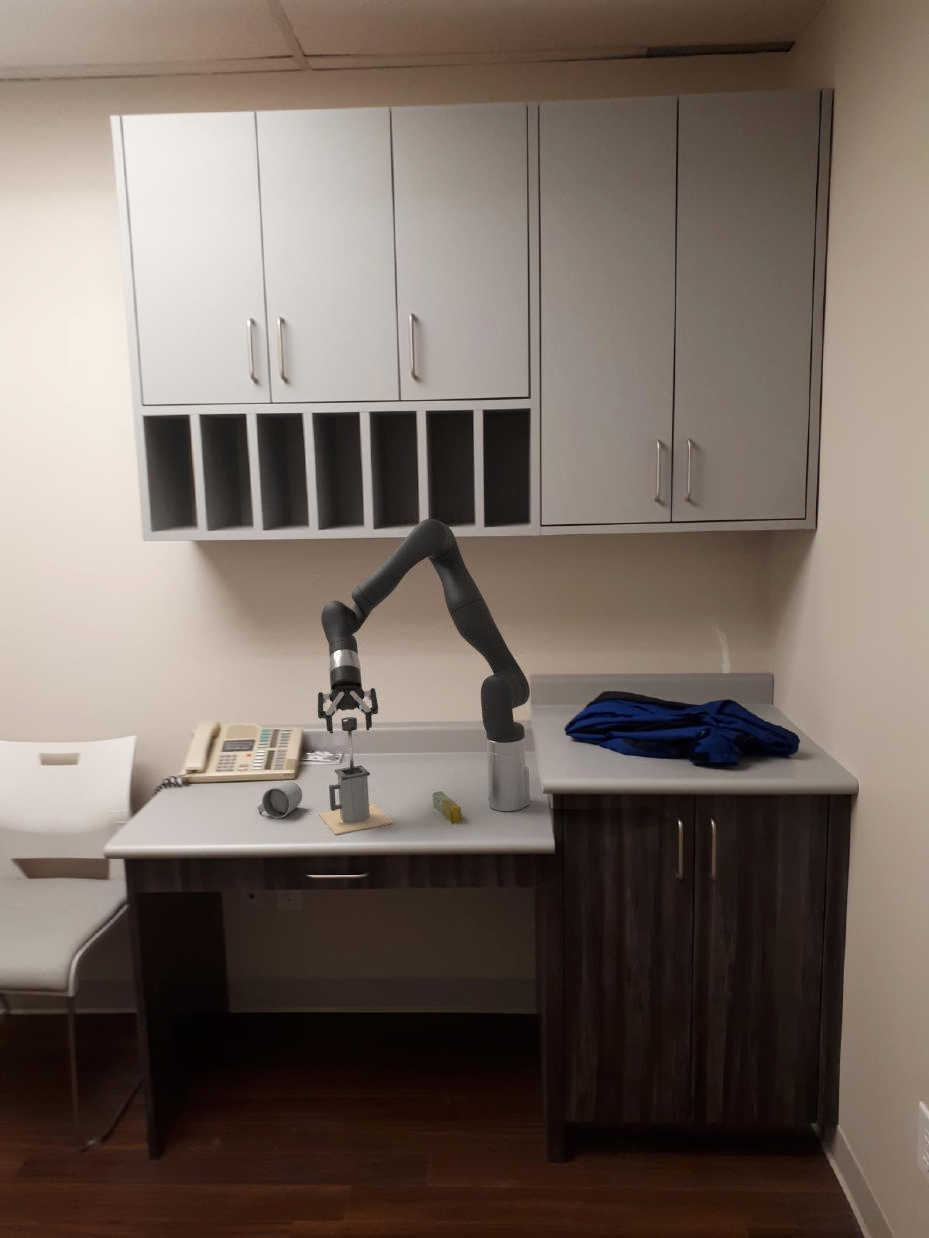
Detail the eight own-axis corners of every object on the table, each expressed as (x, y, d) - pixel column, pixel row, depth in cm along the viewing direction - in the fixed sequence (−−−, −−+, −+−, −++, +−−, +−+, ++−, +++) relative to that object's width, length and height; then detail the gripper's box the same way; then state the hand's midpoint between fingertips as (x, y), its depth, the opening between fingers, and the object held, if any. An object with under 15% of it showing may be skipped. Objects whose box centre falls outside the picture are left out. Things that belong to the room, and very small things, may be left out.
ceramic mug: (305, 807, 226) (303, 777, 224) (291, 819, 218) (288, 788, 217) (267, 805, 228) (264, 776, 227) (251, 817, 220) (248, 787, 219)
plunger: (357, 771, 217) (354, 716, 215) (362, 776, 213) (358, 719, 211) (342, 774, 215) (339, 718, 213) (347, 778, 212) (343, 722, 210)
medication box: (432, 808, 222) (431, 792, 221) (443, 805, 223) (441, 790, 223) (452, 824, 211) (450, 808, 211) (462, 822, 212) (461, 806, 212)
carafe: (373, 804, 225) (370, 758, 223) (392, 823, 213) (389, 774, 211) (318, 815, 220) (315, 767, 218) (335, 835, 207) (331, 785, 205)
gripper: (374, 678, 225) (379, 735, 216) (316, 682, 223) (319, 740, 213) (374, 661, 219) (380, 719, 210) (315, 666, 217) (318, 724, 207)
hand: (349, 730), depth 211 cm, fingers open, 8 cm apart
